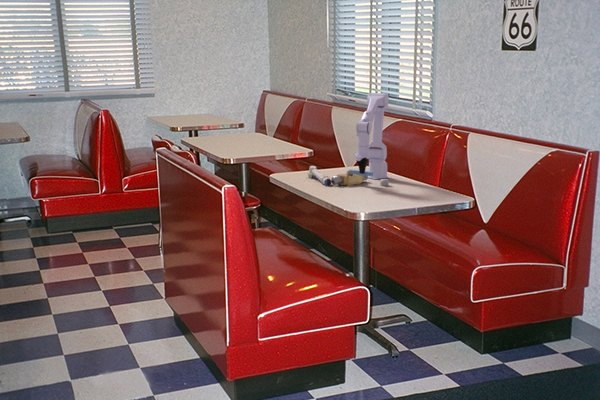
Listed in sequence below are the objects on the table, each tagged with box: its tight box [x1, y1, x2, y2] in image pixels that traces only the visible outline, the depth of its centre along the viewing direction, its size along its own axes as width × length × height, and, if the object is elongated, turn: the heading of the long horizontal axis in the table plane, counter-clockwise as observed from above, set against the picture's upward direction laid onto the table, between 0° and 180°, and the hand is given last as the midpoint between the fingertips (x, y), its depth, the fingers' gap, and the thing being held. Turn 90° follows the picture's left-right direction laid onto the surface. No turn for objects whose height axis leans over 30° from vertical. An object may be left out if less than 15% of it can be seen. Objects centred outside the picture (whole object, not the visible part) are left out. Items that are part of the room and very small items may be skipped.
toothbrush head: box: [306, 165, 332, 187], centre depth 374 cm, size 5×7×25 cm
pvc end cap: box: [379, 178, 390, 187], centre depth 365 cm, size 4×4×3 cm
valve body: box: [330, 172, 369, 186], centre depth 368 cm, size 21×7×5 cm, turn 129°
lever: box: [346, 168, 373, 176], centre depth 365 cm, size 3×14×2 cm, turn 61°
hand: (362, 173), depth 362 cm, fingers closed, pressing on lever
